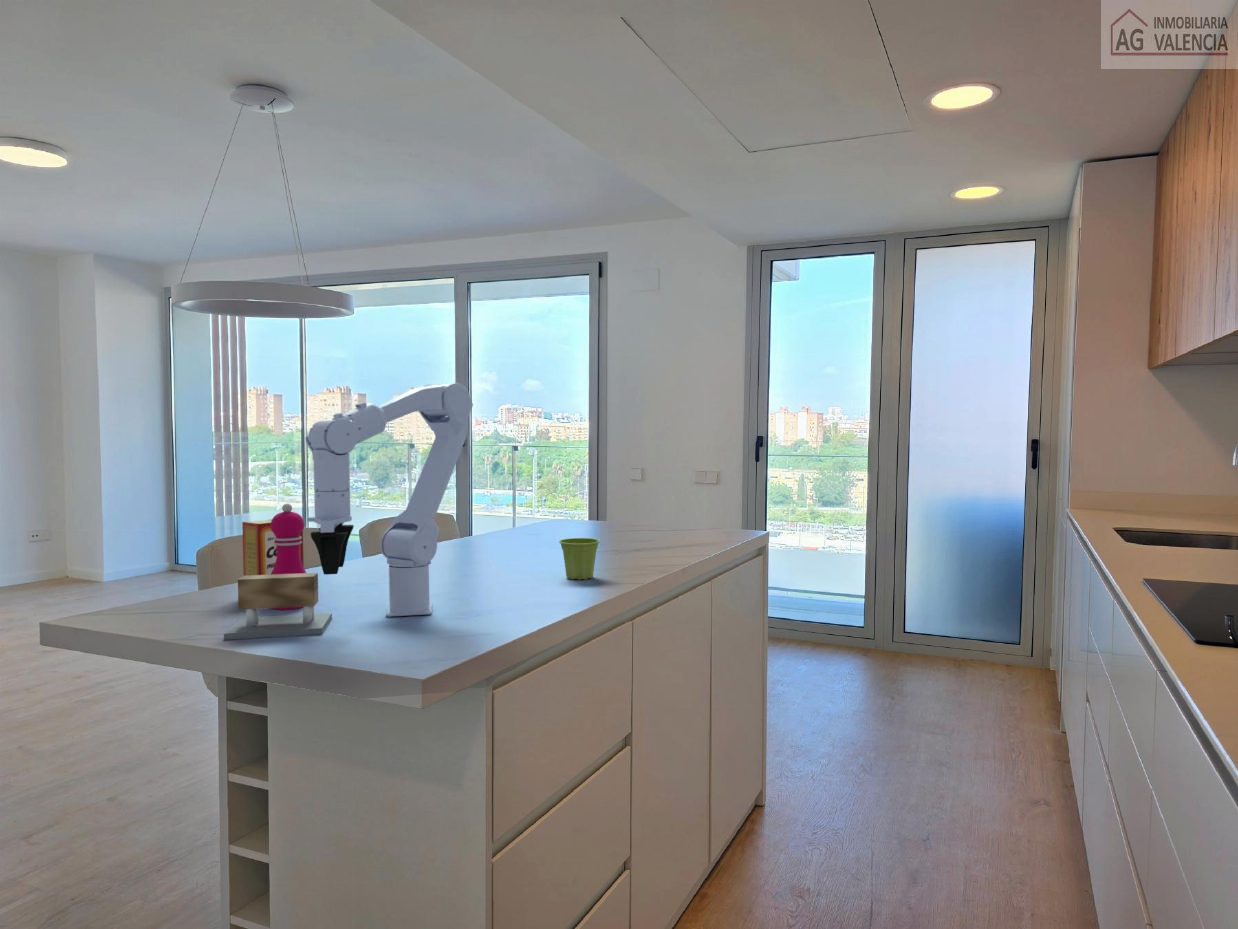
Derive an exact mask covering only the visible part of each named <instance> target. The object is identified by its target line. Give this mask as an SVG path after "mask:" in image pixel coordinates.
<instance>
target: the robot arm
mask: <svg viewBox="0 0 1238 929" xmlns="http://www.w3.org/2000/svg"><path fill="white" fill-rule="evenodd" d="M468 390H469V389H467V387H466V386H465V385H463V384H462V383H460V382H453V383H448V384H447V383H446V384H433V385H431V384H424V385H422V386H420V387H415V388H412V389H410V390H408V391H406V392H405V393H402V394H400V395H398V396H396V397H393V398H391V399H390V400H388V401H386V402H384V403H382V404H380V405H376V404H374V403H371V402H368V403H367V402H365V401H364V402H363V401H362V402H359V403H356V404H355V408H354V409H351V410H349V411H346V412H344V413H342V412H337V413H334V414H333V416H332V417H333V418H331V419H330V420H318V421H317V422H315V423H314V424H312V427H310V429H309V432H308V434H307V436H305V443H306V445H307V448H308V449H309V450H310V452H311V455H312V461H313V487H314V488H313V492H314V496H313V497H314V516H308V517H307V519H306V520H307V522H310V523H311V522H313V523H315V524H318V525H320V527H319V528H318V530H319V531H311V532H310V538H311V540H312V541H313V543H314V545H315V547H316V549H317V553H318V556H319V560H320V565H321V566H320V567H321V569H322V572H323V575H326V576H327V575H337V574H338V573H339V569H340V568H343V567H344V565H345V559H346V553H347V548H348V544H349V543H348V542H349V539H350V537H351V534H352V532H353V529H354V527H355V526H354V524H345V523H348V522H352V520H353V516H352V514H351V486H350V483H351V482H350V480H351V479H350V478H351V477H350V469H351V468H350V467H351V465H350V453H352V451H353V450H354V449H355V447H356V446H357V445H358V444H360V443H362V442H364V441H366V440H369V439H371V438H373V437H375V436H378V435H379V434H381V433H383V432H384V431H385V429H386V427H387V423H389V422H391V421H394V420H397V419H399V418H402V417H404V416H407V415H409V414H413V413H416V412H418V413H419V414H420V415H421V417H422V418H423V420H424V421H425V423H426V424H427V425H428V427H429V428H430V430H431V431H432V432H433V433H434V436H435V438H434V440H433V442H432V445H431V448H430V449H429V452H428V454H427V457H426V460H425V462H424V465H423V468H422V469H421V472H420V474H419V477H418V479H417V481H416V484H415V486H414V489H413V492H412V494H411V496H410V499H409V502H407V506H406V508H405V510H404V511H402V512H400V514H399V515H397V516H395V517H394V518H393V520H392V522H391V525H390V526H389V527H388V528H387V529H386V530H385V531H384V532H383V534H382V535H381V538H380V543H379V546H380V552H381V554H382V555H383V557H385V558H386V564H387V565H388V586H389V589H388V592H389V594H388V595H389V598H388V599H389V605H388V607H387V609H386V610H387V611H386V613H385V616H386V617H405V616H421V615H422V616H423V615H431V614H432V612H433V610H432V609H433V602H432V601H430V565H431V564H432V560H433V559H434V558H435V555H436V554H437V550H438V537H439V536H440V535H439V534H440V531H441V530H440V527H439V526H438V524H437V523H436V520H435V519H436V515H437V513H438V510H439V507H440V505H441V502H442V500H443V497H444V494H445V492H446V489H447V487H448V485H449V482H450V480H451V477H452V475H453V472H454V470H455V466H456V465H457V462H458V459H459V457H460V454H461V452H462V449H463V447H464V444H465V441H466V439H467V431H468V430H467V429H468V419H469V415H470V413H471V411H472V408H473V406H474V404H473V402H472V401H473V400H472V398H471V394H470V393H469V391H468Z"/></svg>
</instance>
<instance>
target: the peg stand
mask: <svg viewBox="0 0 1238 929" xmlns="http://www.w3.org/2000/svg"><path fill="white" fill-rule="evenodd" d="M332 619H333V613H332V612H324V613H323V612H322V613H320V612H319V613H315V606H303V607H302V614H301V613H300V614H286V615H268V616H267V615H265V616H259V609H245V617H241V618H240V619H239V620H238V621H236V622H235V623H234V624H233V625H232V626H231V627H230V628H228V629H227V630H226V631H225V632H224V633H223V640H224V641H227V640H243V639H259V638H260V639H262V638H276V637H277V638H278V637H279V638H281V637H282V638H283V637H296V636H297V637H298V636H312V635H313V636H317V635H323V634H324V633H325V631H326V629H327V627H328V626H329V625H330V622H331V620H332Z"/></svg>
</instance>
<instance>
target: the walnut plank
mask: <svg viewBox="0 0 1238 929" xmlns="http://www.w3.org/2000/svg"><path fill="white" fill-rule="evenodd" d="M237 600H238V603H237V605H238V606H237V607H238V610H246V609H258V610H260V609H273V608H280V607H301V606H314V607H315V606H316V605H317V604H318V602H319V573H318V572H306V573H299V574H274V575H249V576H244V575H243V576H241V577H239V578H237Z"/></svg>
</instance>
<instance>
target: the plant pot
mask: <svg viewBox="0 0 1238 929" xmlns="http://www.w3.org/2000/svg"><path fill="white" fill-rule="evenodd" d="M558 543H559V544H560V547H561V550H562V553H563V561H564V568H565V575H566V576H565V577H566V578H567V579H570V580H575V579H577V580H579V581H582V580H581V579H584V580H589V579H588V578H590V579H592V578H594V571H595V563H596V555H597V550H598V547H599V543H601V540H600V539H599V538H589V537H574V538H565V539H564V538H563V539H560V540H559V541H558Z"/></svg>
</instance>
